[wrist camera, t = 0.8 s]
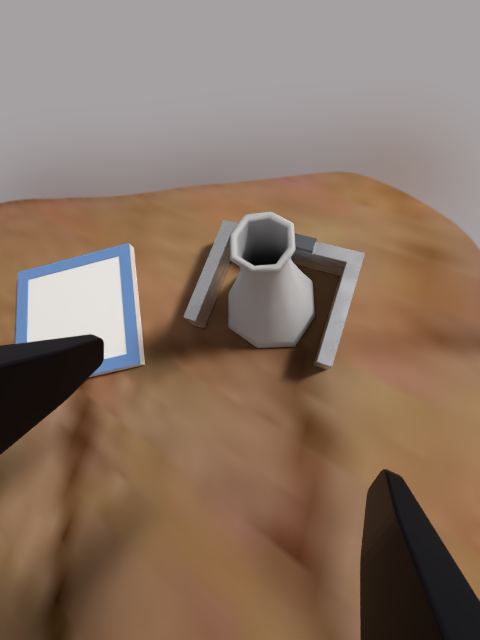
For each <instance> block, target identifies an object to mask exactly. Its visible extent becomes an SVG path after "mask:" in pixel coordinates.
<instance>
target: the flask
mask: <svg viewBox="0 0 480 640" xmlns="http://www.w3.org/2000/svg"><path fill="white" fill-rule="evenodd" d="M294 252H295V235H294V223H292V222H290V221H288V220H286V219H284V218H282V217H280V216H278V215H276V214H275V213H273V212H264V213H255V214H245V215H244V217H243V218H242V219H241V221H240V222H239V223H238V225H237V226H236V227H235V228H234V230H233V231H232V232H231V234H230V260H231V261H232V262H233V263H235V264H236V265H238V266H240V271H239V274H238V276H237V278H236V280H235V282H234V284H233V286H232V288H231V289H230V291H229V293H228V328H229V329H231V330H232V331H234V332H235V333H237V334H238V335H239V336H241V337H242V338H244V339H245V340H247V341H248V342H250V343H251V344H252V345H254V346H255V347H257V348H269V347H295V346H296V344H297V343H298V341H299V340H300V338H301V337H302V335H303V334H304V333H305V331H306V330H307V328H308V327H309V325H310V324H311V322H312V321H313V319H314V318H315V316H316V315H315V304H314V293H313V282H312V281H311V280H310V279H309V278H308V277H307V276H306V275H305V274H304V273H302V272H301V270H300V269H299V268H298V267H297V266H296V265H295V264H294V263H293V262H292V260H291V256H292V255H293V253H294Z"/></svg>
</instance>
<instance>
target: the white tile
mask: <svg viewBox="0 0 480 640" xmlns="http://www.w3.org/2000/svg"><path fill="white" fill-rule="evenodd" d="M88 334H92V335H95V336H97V337H100V338H102V339H103V341H104V360H103V363H102V364H101V366H100V367H99V368H98V369H97V370H96V371H95V372H94V373H93V374H92V375H91V376H90V377H93V376H98V375H102V374H107V373H111V372H115V371H120V370H124V369H129V368H133V367H138V366H142V365H145V357H144V347H143V337H142V327H141V316H140V306H139V296H138V286H137V275H136V265H135V255H134V248H133V247H132V246H131V245H130V244H129V243H127V244H123V245H119V246H115V247H112V248H108V249H104V250H100V251H97V252H93V253H89V254H85V255H81V256H78V257H74V258H70V259H66V260H63V261H59V262H55V263H51V264H48V265H44V266H40V267H36V268H33V269H29V270H25V271H21V272H18V290H17V318H16V344H18V343H26V342H34V341H42V340H49V339H57V338H65V337H73V336H81V335H88Z"/></svg>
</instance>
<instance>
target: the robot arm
mask: <svg viewBox="0 0 480 640" xmlns="http://www.w3.org/2000/svg"><path fill="white" fill-rule="evenodd" d="M103 360H104V341H103V339H102V338H100V337H97V336H95V335H92V334H88V335H81V336H73V337H65V338H57V339H49V340H42V341H34V342H26V343H18V344H10V345H3V346H0V455H1V454H2V453H3V452H4V451H5V450H7V449H8V448H9V447H10V446H12V445H13V444H14V443H15V442H16V441H18V440H19V439H20V438H21V437H22V436H24V435H25V434H26V433H27V432H28V431H30V430H31V429H32V428H33V427H34V426H36V425H37V424H38V423H39V422H40V421H42V420H43V419H44V418H45V417H46V416H48V415H49V414H50V413H51V412H52V411H54V410H55V409H56V408H57V407H58V406H60V405H61V404H62V403H63V402H64V401H65V400H67V399H68V398H69V397H70V396H71V395H72V394H73V393H74V392H75V391H76V390H77V389H78V388H79V387H80V386H81V385H82V384H83V383H84V382H85V381H86V380H87V379H88V378H89V377H90V376H91V375H92V374H93V373H94V372H95V371H96V370H97V369H98V368H99V367H100V366H101V364H102V363H103ZM360 618H361V640H480V601H479V599H478V598H477V596H476V594H475V593H474V591H473V590H472V588H471V586H470V585H469V583H468V582H467V580H466V578H465V577H464V575H463V574H462V572H461V570H460V569H459V567H458V566H457V564H456V562H455V561H454V559H453V558H452V556H451V554H450V553H449V551H448V550H447V548H446V546H445V545H444V543H443V542H442V540H441V538H440V537H439V535H438V534H437V532H436V530H435V529H434V527H433V526H432V524H431V523H430V521H429V519H428V518H427V516H426V515H425V513H424V511H423V510H422V508H421V507H420V505H419V503H418V502H417V500H416V499H415V497H414V495H413V494H412V492H411V491H410V489H409V487H408V486H407V484H406V483H405V481H404V479H403V478H402V477H401V476H400V475H398V474H396V473H394V472H391V471H389V470H387V469H383V470H382V471H381V472H380V473H379V475H378V476H377V478H376V479H375V480H374V482H373V483H372V485H371V486H370V488H369V490H368V493H367V500H366V509H365V519H364V529H363V538H362V548H361V563H360Z"/></svg>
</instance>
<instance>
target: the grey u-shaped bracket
mask: <svg viewBox="0 0 480 640" xmlns="http://www.w3.org/2000/svg"><path fill="white" fill-rule="evenodd" d="M237 225H238V223H236V222H231V221H227V220H223V222H222V225H221V227H220V230H219V232H218V234H217V237H216V239H215V242H214V244H213V246H212V249H211V251H210V254H209V256H208V259H207V261H206V263H205V266H204V268H203V271H202V273H201V275H200V278H199V280H198V283H197V285H196V288H195V290H194V292H193V295H192V297H191V300H190V302H189V304H188V307H187V309H186V312H185V314H184V318H185V319H186V320H188V321H189V322H190V323H191V324H193V325H194V326H197V327H200V328H203V329H205V326H206V324H207V321H208V319H209V316H210V313H211V311H212V308H213V306H214V303H215V301H216V298H217V296H218V293H219V291H220V288H221V286H222V283H223V280H224V278H225V275H226V273H227V270H228V268H229V265H230V263H231V260H230V234H231V232H232V231H233V230H234V228H235V227H236V226H237ZM294 235H295V252H294V253H293V255H292V256H291V260H292V262H293V263H294V264H295V265H299V266H303V267H306V268H310V269H314V270H318V271H322V272H326V273H330V274H333V275H337V276H340V278H339V281H338V284H337V288H336V291H335V294H334V298H333V301H332V304H331V308H330V311H329V314H328V317H327V321H326V324H325V327H324V331H323V334H322V337H321V341H320V344H319V347H318V350H317V354H316V357H315V360H314V364H313V366H316V367H319V368H322V369H325V370H327V369H329V368H331V367H332V365H333V362H334V358H335V355H336V351H337V348H338V345H339V341H340V338H341V334H342V331H343V327H344V324H345V320H346V317H347V313H348V310H349V306H350V303H351V299H352V296H353V293H354V289H355V286H356V282H357V279H358V275H359V272H360V268H361V265H362V261H363V258H364V254H365V253H362V252H358V251H354V250H349V249H345V248H341V247H337V246H333V245H328V244H324V243H320V242H316V241H317V239H316V238H312V237H307V236H303V235H299V234H295V233H294Z"/></svg>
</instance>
